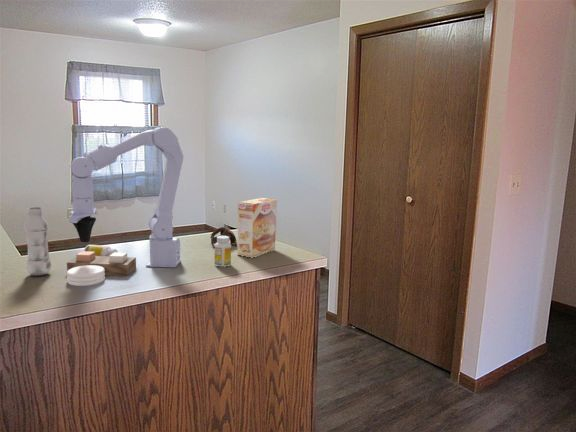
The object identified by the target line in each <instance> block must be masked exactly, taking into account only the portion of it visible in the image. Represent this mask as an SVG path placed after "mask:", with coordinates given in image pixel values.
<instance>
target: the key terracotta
mask: <svg viewBox="0 0 576 432" xmlns="http://www.w3.org/2000/svg"><path fill="white" fill-rule="evenodd" d="M75 258H76V260H77V261H78V262H91V261H93V260H94V259H95V252H90V251H84V250H82V251H80V252H78V253H76V255H75Z"/></svg>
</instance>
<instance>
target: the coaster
mask: <svg viewBox="0 0 576 432" xmlns="http://www.w3.org/2000/svg"><path fill="white" fill-rule="evenodd" d="M66 271H67V270H66ZM104 272H105V269H104V268H103V267H101V266H96V265H85V266H78V267H74V268H72V269H70V270H68V271H67V272H66V275H67V276H66V279H67V280H66V281H67V284H68V285H70V286H73V287H88V286H93V285H98V284H101V283H103V282H104V281H105V280H106V275H105V273H104Z"/></svg>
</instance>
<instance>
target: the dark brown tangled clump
mask: <svg viewBox="0 0 576 432" xmlns="http://www.w3.org/2000/svg"><path fill="white" fill-rule="evenodd" d="M217 234H220V235H217ZM218 236H228V237H229V243H230V244H231V243H232V244H234V245H235V247H236V246H237V247H238V240H237V237H236V235H235V233H234V232H233V231H232V230H231V229H229V228H227V227H226V226H222V227H219V228H217V229H215V230H213V232H212V233H211V234H210V244H211V246H212V245H213V246H214V245H215V244H216V243H217V237H218Z"/></svg>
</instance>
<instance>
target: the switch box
mask: <svg viewBox="0 0 576 432" xmlns="http://www.w3.org/2000/svg"><path fill="white" fill-rule="evenodd" d="M85 265H96V266H101V267H103V268H104V269H105V272H104V273H105V276H116V277H118V276H119V277H120V276H121V277H128V276H129V275H130V274H131V273H132V272H134V271H135V270H136V269H137V257H135V256H134V257H132V256H130V257H129V256H127V261H126V262H124V263H110V262H109V257H107V256H95V259H94V260H93V261H91V262H78V261H77V260H76V257H74V258H73V259H71V260H69V261H67V262H66V271H68V270H70V269H72V268H74V267H78V266H85Z"/></svg>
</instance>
